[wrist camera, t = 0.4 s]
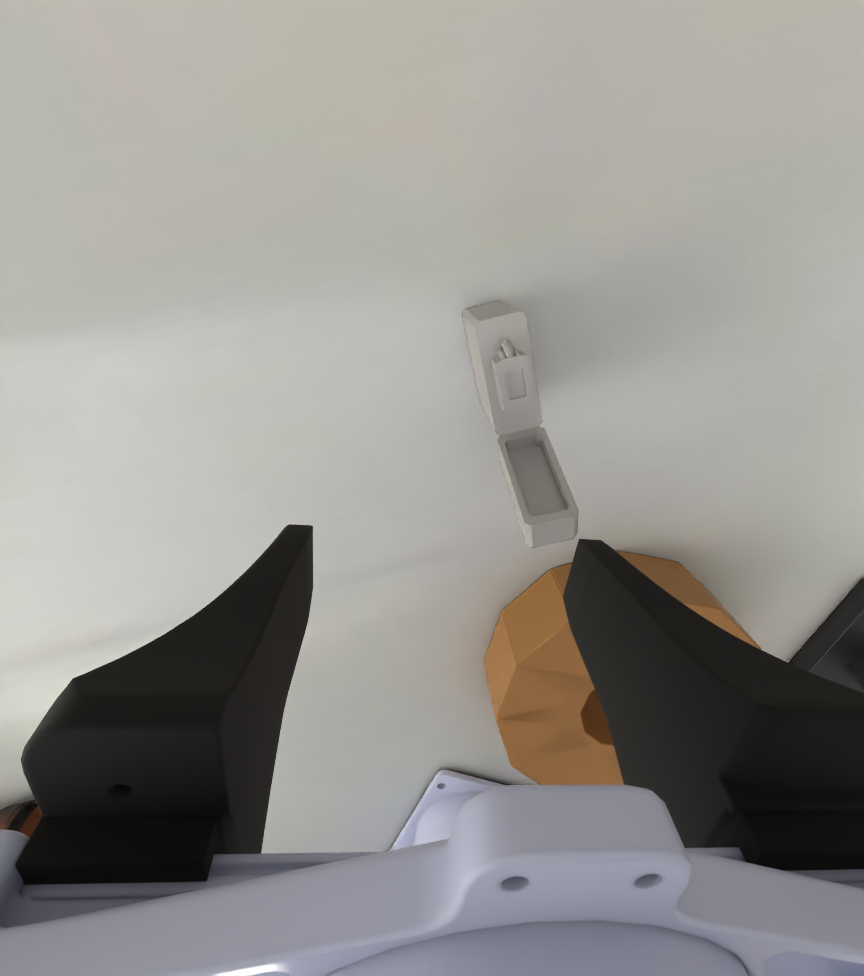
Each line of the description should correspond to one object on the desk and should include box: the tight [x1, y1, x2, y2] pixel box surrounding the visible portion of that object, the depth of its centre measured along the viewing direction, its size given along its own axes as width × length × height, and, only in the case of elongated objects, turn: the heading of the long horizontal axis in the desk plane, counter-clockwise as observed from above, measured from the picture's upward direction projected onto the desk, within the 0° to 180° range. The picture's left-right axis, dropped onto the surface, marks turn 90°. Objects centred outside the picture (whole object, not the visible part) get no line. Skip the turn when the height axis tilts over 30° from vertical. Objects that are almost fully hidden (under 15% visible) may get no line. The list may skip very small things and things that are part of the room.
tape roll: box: [484, 551, 761, 785], centre depth 28 cm, size 13×13×4 cm
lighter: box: [462, 300, 578, 548], centre depth 19 cm, size 7×2×8 cm, turn 13°
